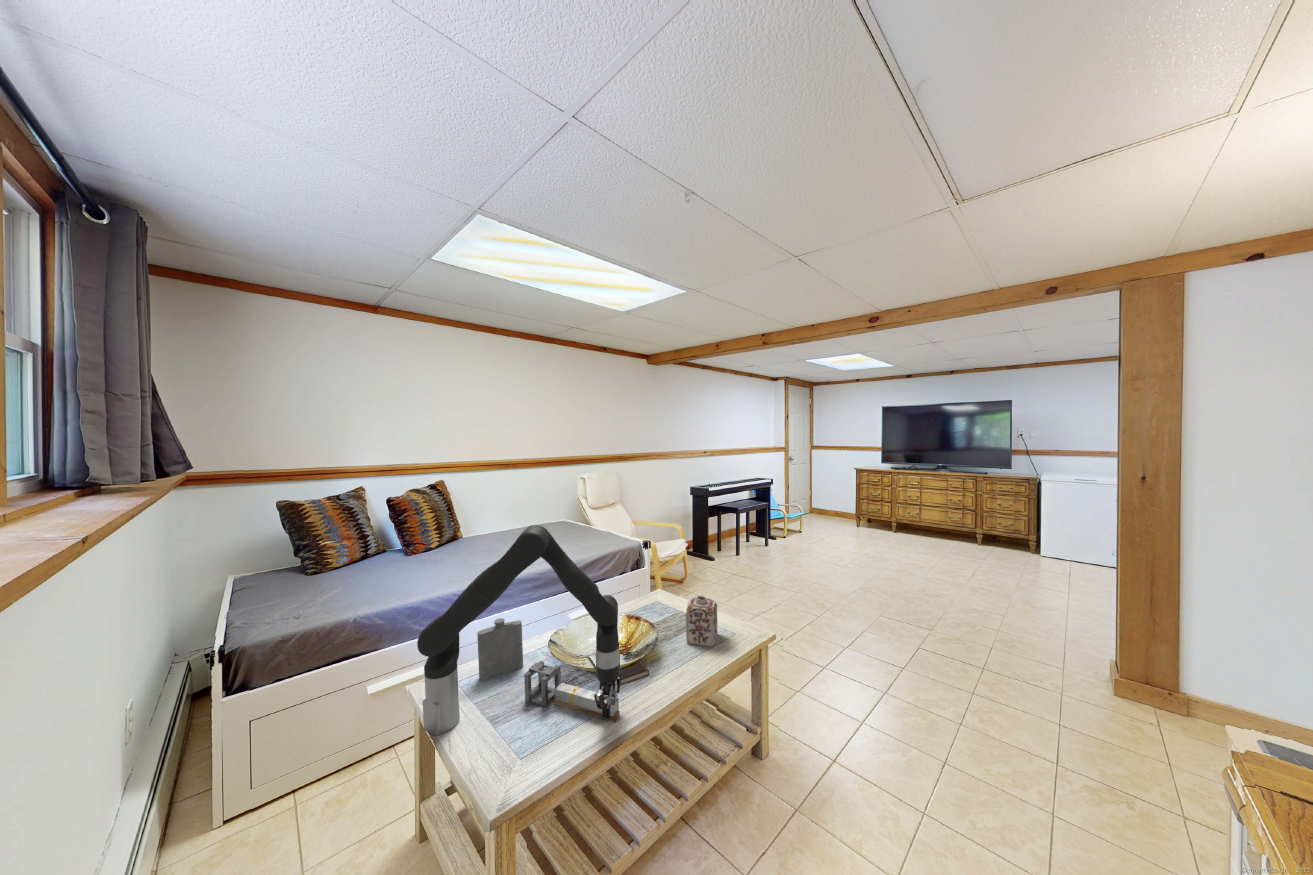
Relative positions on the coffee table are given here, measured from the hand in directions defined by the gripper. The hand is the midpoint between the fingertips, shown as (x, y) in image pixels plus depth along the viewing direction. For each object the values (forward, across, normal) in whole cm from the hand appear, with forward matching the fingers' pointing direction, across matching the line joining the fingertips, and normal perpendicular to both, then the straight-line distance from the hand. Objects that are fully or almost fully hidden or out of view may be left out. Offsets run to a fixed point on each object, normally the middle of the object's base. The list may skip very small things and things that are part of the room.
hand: (609, 713), depth 134 cm
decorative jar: (+1, +56, -14) cm, 58 cm away
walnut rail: (+1, 0, +9) cm, 9 cm away
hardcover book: (+2, +26, +12) cm, 28 cm away
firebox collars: (+1, 0, +26) cm, 26 cm away
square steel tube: (-1, 0, +8) cm, 9 cm away
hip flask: (+1, +6, +50) cm, 51 cm away
